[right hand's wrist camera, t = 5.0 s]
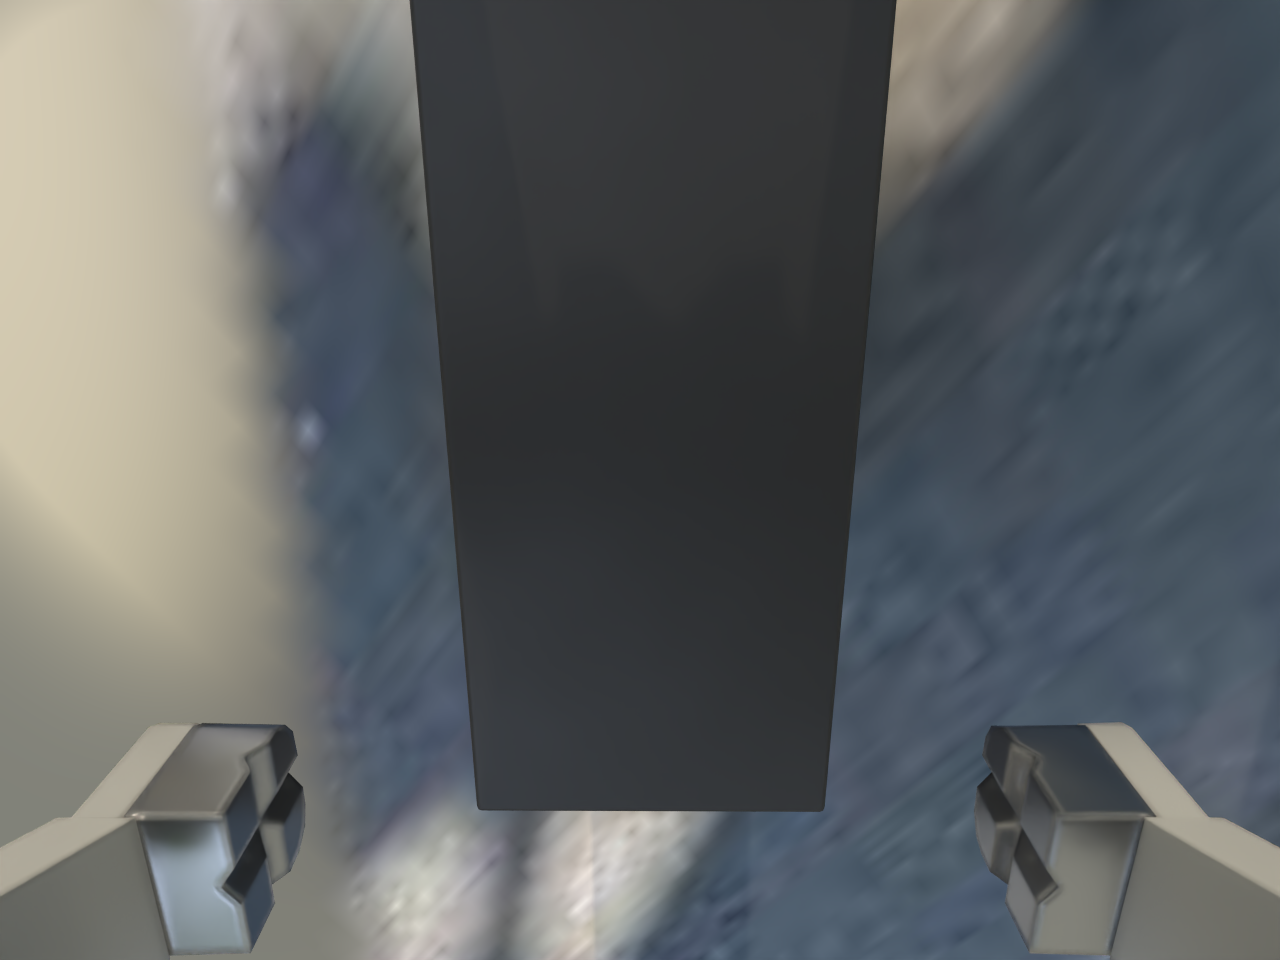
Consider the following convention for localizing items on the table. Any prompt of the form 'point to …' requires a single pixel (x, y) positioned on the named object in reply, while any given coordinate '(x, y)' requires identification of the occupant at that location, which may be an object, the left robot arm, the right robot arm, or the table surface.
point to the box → (652, 382)
